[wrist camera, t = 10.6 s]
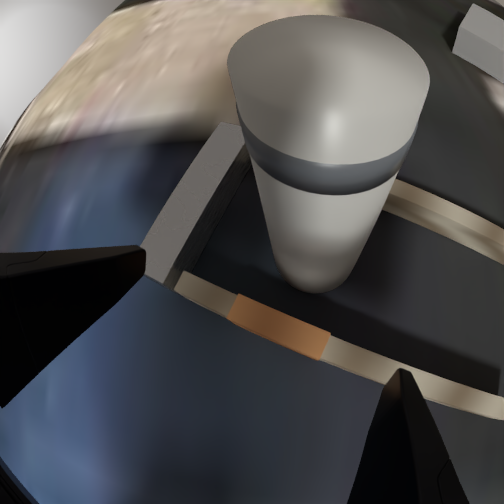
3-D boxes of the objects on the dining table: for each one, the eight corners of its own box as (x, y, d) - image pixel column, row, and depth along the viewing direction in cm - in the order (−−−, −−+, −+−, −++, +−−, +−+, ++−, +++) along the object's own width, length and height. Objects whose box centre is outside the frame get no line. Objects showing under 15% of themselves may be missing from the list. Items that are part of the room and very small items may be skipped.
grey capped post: (306, 311, 17) (321, 161, 5) (257, 245, 18) (191, 52, 6) (372, 261, 17) (465, 80, 5) (321, 202, 19) (331, 4, 7)
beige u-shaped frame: (525, 259, 15) (544, 246, 13) (490, 419, 12) (512, 423, 10) (228, 143, 22) (221, 120, 19) (147, 279, 19) (128, 267, 16)
